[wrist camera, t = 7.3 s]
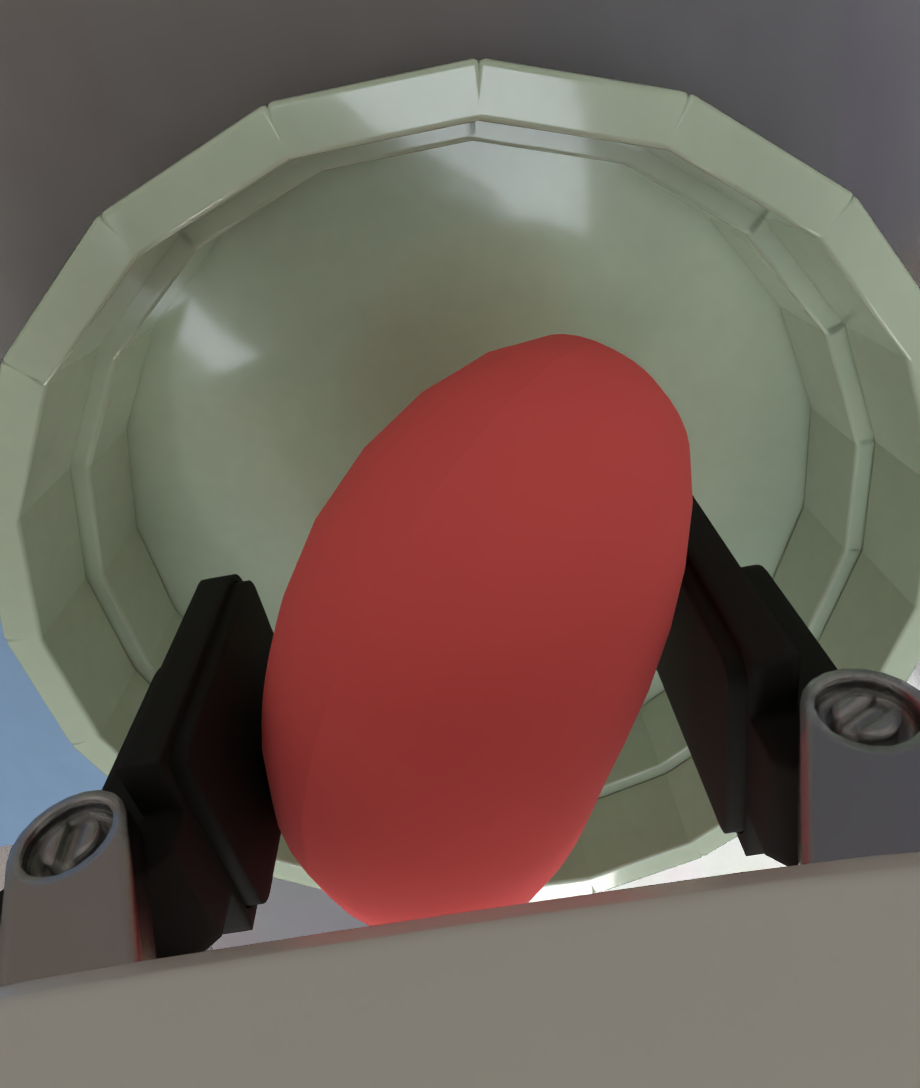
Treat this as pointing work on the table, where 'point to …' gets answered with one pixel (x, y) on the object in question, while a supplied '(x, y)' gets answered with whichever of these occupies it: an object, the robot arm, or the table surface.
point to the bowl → (442, 349)
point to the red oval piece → (477, 631)
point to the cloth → (33, 753)
